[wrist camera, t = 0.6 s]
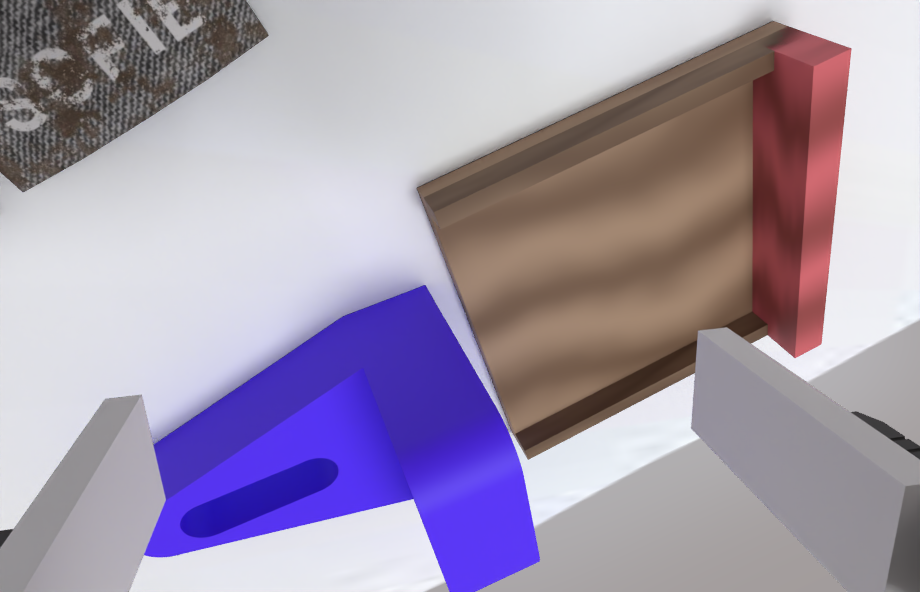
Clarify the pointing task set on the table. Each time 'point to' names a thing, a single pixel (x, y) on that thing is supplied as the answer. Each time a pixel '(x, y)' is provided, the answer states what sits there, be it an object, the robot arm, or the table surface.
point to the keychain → (103, 71)
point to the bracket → (356, 447)
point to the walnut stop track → (650, 230)
